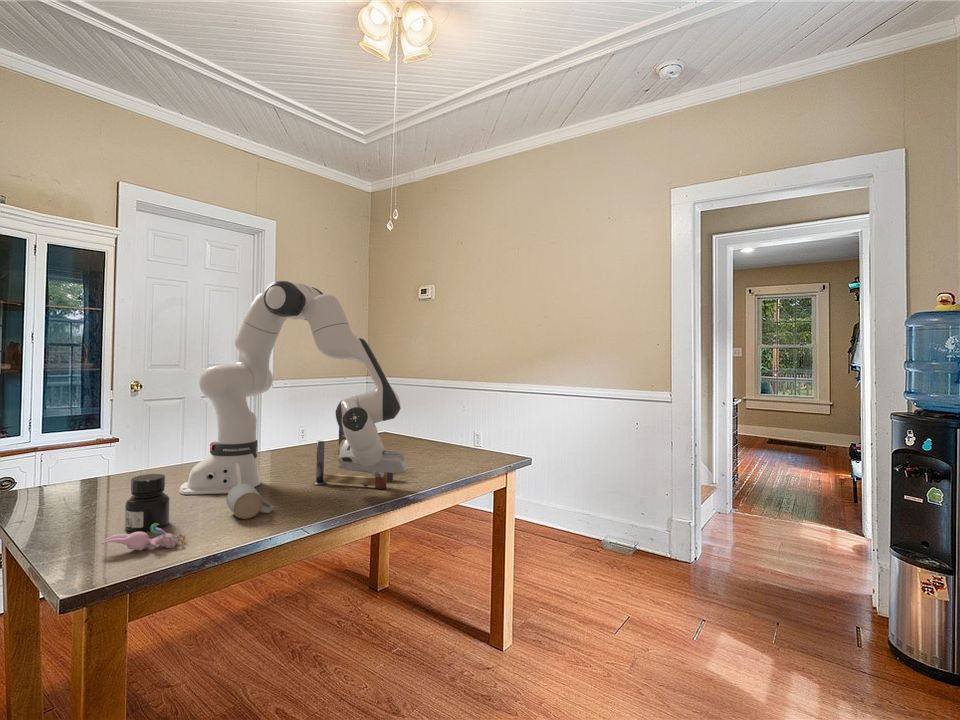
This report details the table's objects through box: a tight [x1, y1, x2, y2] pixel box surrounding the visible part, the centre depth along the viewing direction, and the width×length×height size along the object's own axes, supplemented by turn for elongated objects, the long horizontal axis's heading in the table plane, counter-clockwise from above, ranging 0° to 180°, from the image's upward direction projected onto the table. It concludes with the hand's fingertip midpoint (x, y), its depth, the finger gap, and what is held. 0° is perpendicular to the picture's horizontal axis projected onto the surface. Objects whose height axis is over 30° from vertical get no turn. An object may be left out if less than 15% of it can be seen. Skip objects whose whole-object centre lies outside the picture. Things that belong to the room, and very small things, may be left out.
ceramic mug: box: [226, 484, 274, 520], centre depth 127 cm, size 11×8×8 cm
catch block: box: [387, 472, 394, 481], centre depth 163 cm, size 5×2×5 cm, turn 98°
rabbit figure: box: [100, 523, 186, 552], centre depth 104 cm, size 6×6×15 cm
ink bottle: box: [124, 473, 170, 533], centre depth 117 cm, size 10×9×12 cm
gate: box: [324, 472, 388, 489], centre depth 155 cm, size 21×4×11 cm, turn 81°
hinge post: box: [312, 440, 327, 486], centre depth 157 cm, size 4×4×14 cm
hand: (379, 475), depth 151 cm, fingers closed, pressing on gate
